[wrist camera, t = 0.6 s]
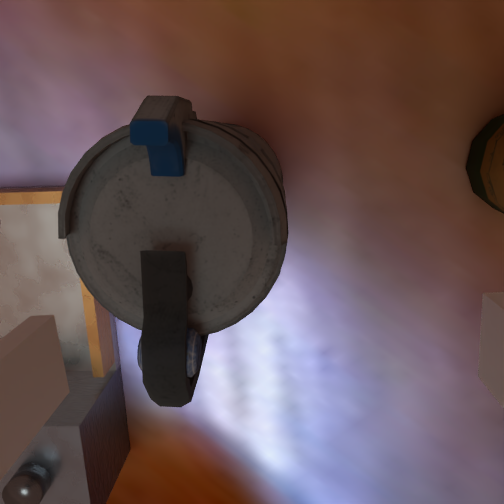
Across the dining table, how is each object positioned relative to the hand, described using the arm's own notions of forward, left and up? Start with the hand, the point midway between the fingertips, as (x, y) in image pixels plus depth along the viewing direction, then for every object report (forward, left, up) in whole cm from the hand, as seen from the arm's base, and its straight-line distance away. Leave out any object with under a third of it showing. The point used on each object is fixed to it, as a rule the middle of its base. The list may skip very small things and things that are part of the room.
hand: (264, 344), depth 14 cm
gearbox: (+12, -23, -28) cm, 38 cm away
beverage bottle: (-1, -4, -28) cm, 29 cm away
